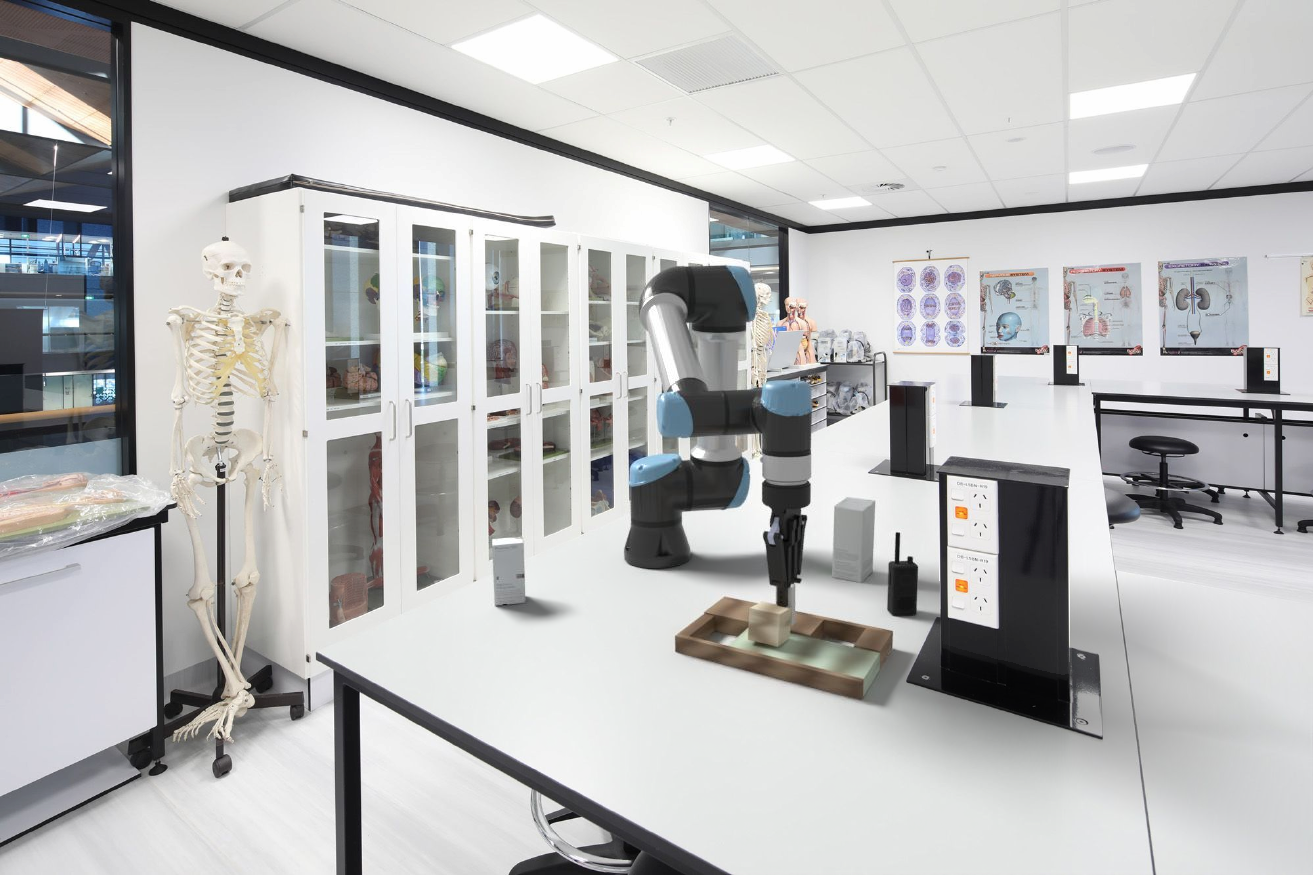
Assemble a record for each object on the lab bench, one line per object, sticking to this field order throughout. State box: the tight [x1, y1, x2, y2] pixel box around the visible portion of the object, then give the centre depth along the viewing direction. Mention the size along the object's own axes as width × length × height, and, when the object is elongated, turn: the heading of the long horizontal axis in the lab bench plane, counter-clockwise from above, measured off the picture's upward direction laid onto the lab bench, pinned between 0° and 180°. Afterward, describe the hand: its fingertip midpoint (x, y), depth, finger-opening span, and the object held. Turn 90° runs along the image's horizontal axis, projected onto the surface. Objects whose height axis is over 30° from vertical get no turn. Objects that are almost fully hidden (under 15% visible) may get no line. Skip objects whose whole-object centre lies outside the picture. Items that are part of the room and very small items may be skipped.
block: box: [748, 601, 792, 647], centre depth 109 cm, size 5×5×5 cm
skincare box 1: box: [491, 536, 526, 606], centre depth 134 cm, size 6×4×12 cm
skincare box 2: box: [831, 496, 876, 584], centre depth 143 cm, size 8×7×16 cm
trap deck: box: [674, 596, 894, 701], centre depth 111 cm, size 30×18×3 cm, turn 58°
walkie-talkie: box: [886, 531, 919, 617], centre depth 124 cm, size 5×3×15 cm
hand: (785, 622), depth 112 cm, fingers closed
